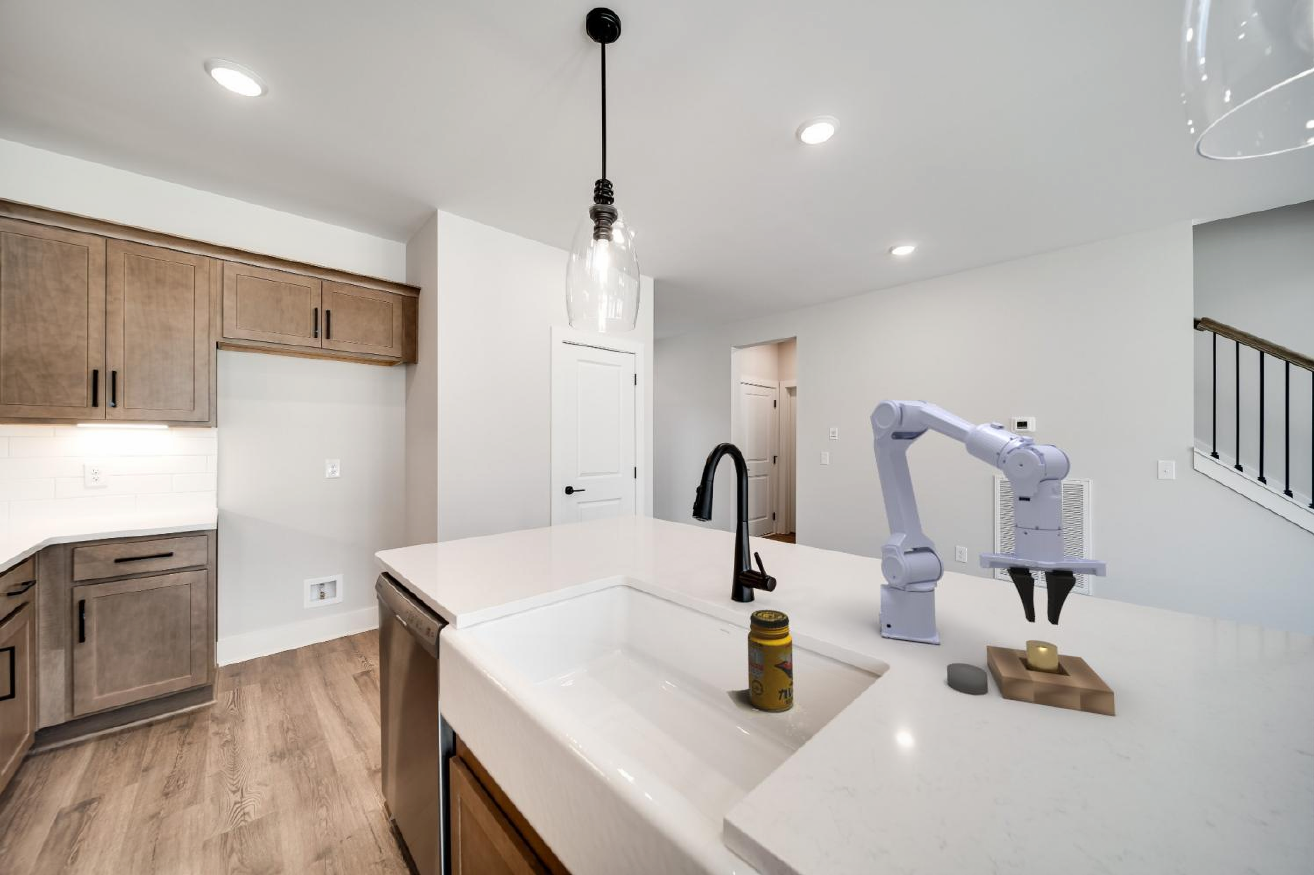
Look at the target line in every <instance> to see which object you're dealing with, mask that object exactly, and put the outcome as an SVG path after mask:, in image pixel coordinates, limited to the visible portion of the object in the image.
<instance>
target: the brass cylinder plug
mask: <svg viewBox="0 0 1314 875" xmlns="http://www.w3.org/2000/svg"><path fill="white" fill-rule="evenodd" d="M1025 648H1026V649H1025V650H1026V652H1027V670H1029V671H1036V672H1043V673H1050V674H1057V675H1059V672H1058V654H1059V652H1058V646H1057V645H1056V644H1053V643H1050V642H1047V641H1042V640H1036V639H1035V640H1034V639H1031V640H1027V641H1025Z"/></svg>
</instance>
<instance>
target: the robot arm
mask: <svg viewBox="0 0 1314 875" xmlns="http://www.w3.org/2000/svg"><path fill="white" fill-rule="evenodd" d="M870 423H871V428H872V433H873V451H874V458H875V462H876V463H875V464H876V467H877V471H878V472H877V473H878V477H879V482H880V486H881V492H882V498H883V502H884V508H885V513H886V517H887V518H886V519H887V523H888V528H889V532H890V536H889V537H888V538H887V540H886V541H885V542H884V543H883V544H882V546H880V548H881V553H882V556H881V557H882V559H881V563H880V565H881V566H880V567H881V572H882V576H883V577H884V580H885V581H886V582H887V583H888V584H887V583H886V584H883V583H881V584H880V613H879V614H878V615H879V616H878V617H879V620H878V621H879V624H881V637H883V636H884V637H883V638H888V637H890V638H891V639H897V640H907V641H910V642H911V641H912V642H920V643H927V644H928V643H929V644H935V645H936V644H937V645H940V644H941V639H940V636H939V633H938V629H937V627H936V626H937V625H936V624H937V623H936V622H937V621H936V596H935V594H936V592H935V590H936V588H938V582H939V581H940V580H942V578H943V576H944V574H945V573H944V572H945V567H944V562H943V559H942V558H941V557H940V555H939V553H938V552H937V549H936V544H935V542H934V541H933V540H932V539H931V538H930V537H928V536H927V535H926V534H924V533H923V530H922V524H921V520H920V515H919V511H918V506H917V500H916V497H915V496H916V495H915V492H914V487H913V482H912V478H911V472H910V468H909V463H908V458H907V454H906V453H907V452H906V451H907V450H908V449H909V448H910V446H911V445H913V444H914V443H915V442H916V441H918V440H919V439H920V438H921V437H922V436H924V435H925V434H926V433H927V432H928V431H930V430H932V431H934V432H936V433H939V434H941V435H944V436H946V437H949V438H951V439H953V440H956V441H958V442H961V443H963V444H965V450H966V452H967V454H968V455H970V456H973V457H974V458H976V459H979V460H981V461H982V462H985V463H986V464H988V465H990V466H992V467H994V468H995V469H998V470H1001V471H1002V472H1003V474H1004V477H1005V478H1006V479H1007V480H1008V482H1009V485H1010V492H1012V503H1013V504H1012V505H1013V509H1012V510H1013V532H1014V535H1013V536H1014V553H1010V552H1009V553H996V552H995V553H989V552H988V553H987V552H979V554H978V555H979V566H980V568H982V569H991V568H992V569H1002V570H1003V569H1004V570H1006V572H1007V573H1008V575H1009V577H1010V579H1011V580H1012V582H1013V584H1014V587H1015V588H1016V591H1017V594H1018V595H1019V599H1020V600H1021V603H1022V607H1023V610H1024V616H1025V619H1026V620H1027V621H1028V622H1029V623H1032V624H1033V623H1036V612H1035V603H1034V602H1035V601H1034V600H1035V599H1034V595H1035V594H1034V593H1035V581H1036V579H1035V578H1034V577H1033V576H1032V572H1031V571H1033V572H1044V576H1045V578H1044V579H1045V584H1046V591H1047V592H1046V593H1047V609H1046V612H1047V614H1046V615H1047V621H1048V622H1049V623H1050V624H1051V625H1053V626H1058V625H1059V621H1060V617H1061V613H1062V609H1063V607H1064V603H1065V601H1066V599H1067V598H1068V595H1069V594H1070V593H1071V591H1072V590H1073V588H1074V587H1075V586H1076V583H1077V578H1076V577H1075V576H1074V574H1076V575H1090V576H1096V577H1101V578H1102V577H1103V578H1104V577H1105V578H1106V577H1107V570H1106V569H1107V567H1106V564H1107V563H1106V562H1104V561H1103V560H1101V559H1089V558H1080V557H1078V558H1077V557H1069V556H1065V542H1064V519H1063V516H1064V515H1063V493H1062V491H1063V488H1062V481H1063V480H1064V479H1065V478H1067V476H1068V475H1069V473H1070V469H1071V461H1070V458H1069V456H1068V455H1067V453H1066V452H1065V451H1064V450H1063V449H1061V448H1059V447H1058V446H1056V445H1055V444H1053V443H1042V444H1038V445H1036V443H1035V442H1034V438H1033V437H1030V436H1028V435H1023V436H1020V435H1018V434H1016V433H1013V432H1010V431H1009V430H1006V429H1005V424H1003V423H999V422H991V423H989V422H985V423H981V424H979V425H976V424H973V423H972V422H970V421H967V420H966V419H964V418H961V417H960V416H957V415H956V414H954V413H952V412H949V411H948V410H945V409H944V408H942V407H940V406H938V404H935V403H930V402H928V401H926V400H922V399H921V400H899V399H898V400H896V399H895V400H894V399H888V398H886V399H882V400H881V401H879V402H878V403H877V405H876V406H875V408H874V410H873V411H872V413H871V415H870ZM908 549H909V550H908ZM910 549H911V550H910ZM906 550H908V551H906ZM890 638H889V639H890Z"/></svg>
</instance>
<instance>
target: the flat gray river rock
mask: <svg viewBox="0 0 1314 875" xmlns="http://www.w3.org/2000/svg"><path fill="white" fill-rule="evenodd" d="M946 673H947V674H946V675H947V676H946V678H947V679H946V680H947V682H946V683H947V685H948V687H950V689H952V690H954V691H956V692H959V693H962V694H966V695H971V696H984V695H986V694H988V692H989V686H988V685H989V682H988V681H989V680H988V673H987V671H986V670H984V669H983V668H981V667H978V666H976V665H973V664H967V663H962V662H961V663H960V662H955V663H953V662H952V663H949V664H947V666H946Z"/></svg>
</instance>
